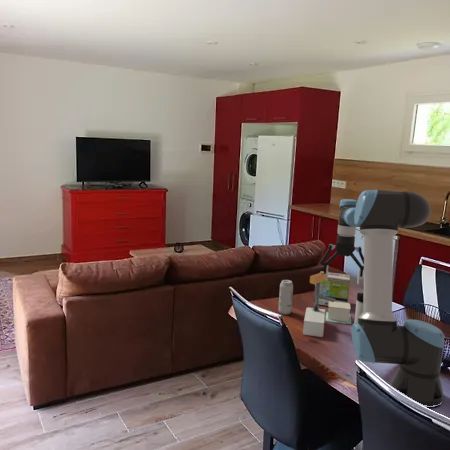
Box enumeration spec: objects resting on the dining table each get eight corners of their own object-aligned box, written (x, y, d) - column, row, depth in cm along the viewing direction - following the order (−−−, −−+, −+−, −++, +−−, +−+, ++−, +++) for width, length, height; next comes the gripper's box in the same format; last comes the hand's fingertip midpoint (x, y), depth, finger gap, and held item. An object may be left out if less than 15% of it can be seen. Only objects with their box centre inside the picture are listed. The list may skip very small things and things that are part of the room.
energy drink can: (290, 315, 203) (292, 284, 201) (277, 313, 205) (278, 282, 203) (292, 311, 209) (294, 280, 206) (279, 309, 211) (281, 278, 208)
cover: (349, 321, 198) (350, 309, 197) (327, 319, 200) (328, 306, 199) (348, 315, 205) (350, 303, 204) (327, 313, 207) (328, 301, 206)
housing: (322, 337, 182) (324, 322, 181) (303, 334, 184) (304, 320, 183) (324, 322, 197) (325, 309, 196) (305, 320, 199) (306, 306, 198)
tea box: (315, 305, 219) (317, 275, 216) (317, 298, 228) (319, 270, 226) (347, 309, 215) (350, 279, 212) (348, 302, 224) (350, 274, 221)
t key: (338, 312, 192) (341, 277, 189) (327, 318, 186) (330, 281, 183) (318, 306, 199) (321, 272, 196) (307, 311, 192) (310, 276, 189)
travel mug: (358, 344, 176) (363, 295, 173) (349, 337, 183) (354, 290, 179) (372, 343, 178) (377, 295, 174) (363, 336, 184) (368, 289, 181)
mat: (351, 324, 196) (351, 323, 196) (325, 321, 199) (325, 320, 198) (350, 315, 206) (350, 314, 206) (326, 312, 209) (326, 311, 209)
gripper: (375, 235, 196) (371, 282, 199) (317, 231, 202) (314, 276, 205) (376, 238, 189) (372, 287, 192) (316, 234, 194) (313, 281, 198)
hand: (342, 282), depth 199 cm, fingers open, 13 cm apart
